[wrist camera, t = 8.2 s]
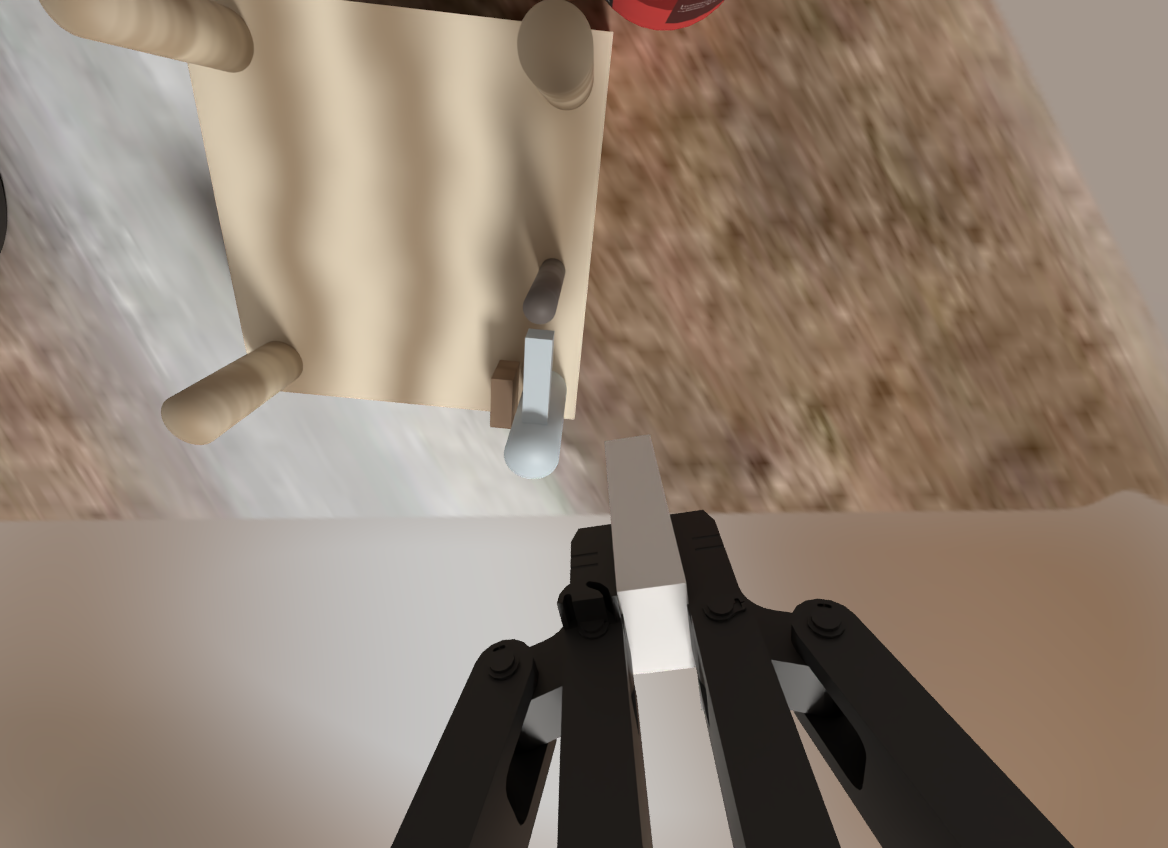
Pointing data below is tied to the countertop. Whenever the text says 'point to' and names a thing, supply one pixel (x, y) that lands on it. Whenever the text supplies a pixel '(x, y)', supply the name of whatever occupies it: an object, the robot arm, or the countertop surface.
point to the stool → (385, 192)
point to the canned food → (664, 12)
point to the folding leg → (537, 411)
